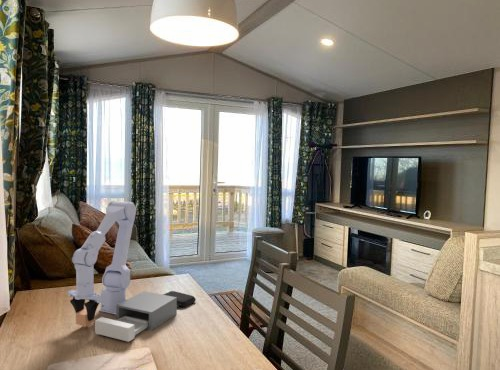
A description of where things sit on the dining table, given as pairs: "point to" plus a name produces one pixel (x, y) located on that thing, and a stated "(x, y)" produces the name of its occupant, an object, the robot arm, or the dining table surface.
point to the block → (83, 318)
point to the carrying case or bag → (181, 298)
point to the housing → (148, 308)
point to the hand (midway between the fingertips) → (85, 318)
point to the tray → (120, 327)
